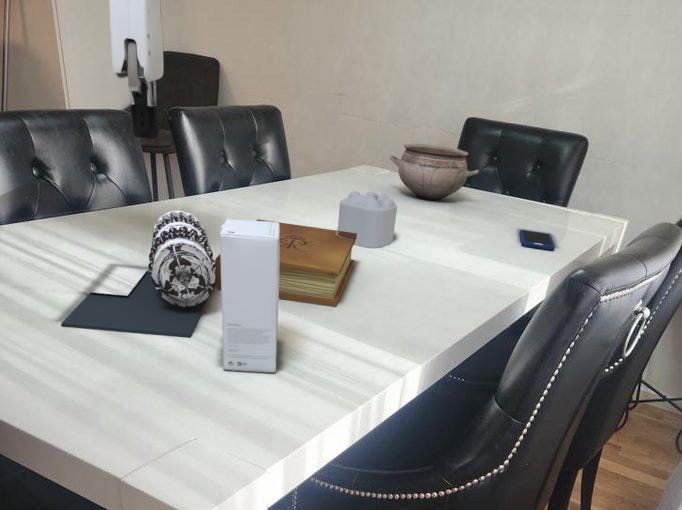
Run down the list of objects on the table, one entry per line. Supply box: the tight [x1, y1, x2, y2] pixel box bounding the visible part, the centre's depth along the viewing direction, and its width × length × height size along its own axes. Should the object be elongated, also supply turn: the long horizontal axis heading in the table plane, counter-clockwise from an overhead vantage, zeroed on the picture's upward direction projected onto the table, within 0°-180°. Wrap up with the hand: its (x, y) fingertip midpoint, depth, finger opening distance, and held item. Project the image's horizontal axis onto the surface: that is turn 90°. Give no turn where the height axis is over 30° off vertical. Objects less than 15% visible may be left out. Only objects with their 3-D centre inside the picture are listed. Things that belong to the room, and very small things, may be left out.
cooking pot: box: [389, 143, 480, 201], centre depth 177 cm, size 25×19×12 cm
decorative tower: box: [147, 209, 216, 307], centre depth 95 cm, size 9×9×25 cm
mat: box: [60, 270, 216, 338], centre depth 92 cm, size 16×24×1 cm, turn 2°
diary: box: [214, 218, 357, 308], centre depth 107 cm, size 23×19×6 cm
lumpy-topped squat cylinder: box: [337, 190, 398, 249], centre depth 133 cm, size 10×13×9 cm
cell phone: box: [519, 229, 556, 251], centre depth 149 cm, size 7×14×1 cm, turn 171°
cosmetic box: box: [219, 218, 280, 373], centre depth 75 cm, size 8×7×16 cm
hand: (146, 136), depth 93 cm, fingers closed
